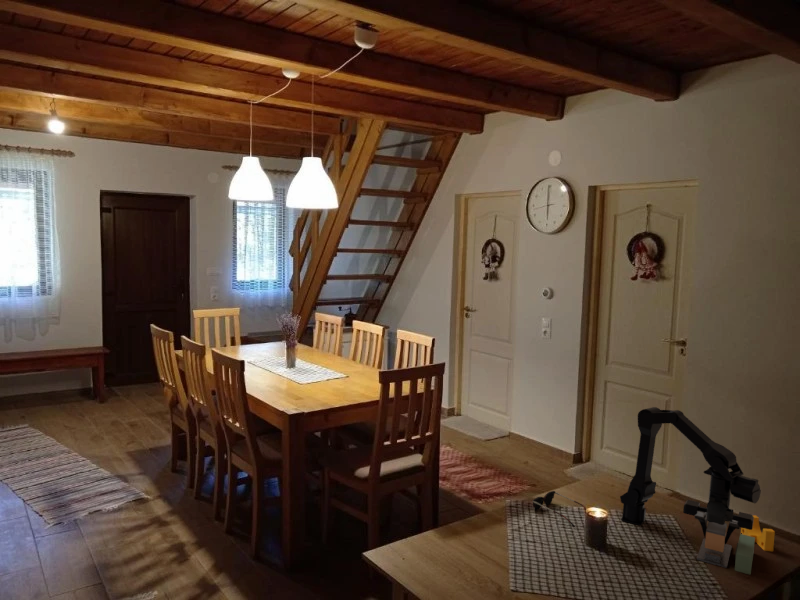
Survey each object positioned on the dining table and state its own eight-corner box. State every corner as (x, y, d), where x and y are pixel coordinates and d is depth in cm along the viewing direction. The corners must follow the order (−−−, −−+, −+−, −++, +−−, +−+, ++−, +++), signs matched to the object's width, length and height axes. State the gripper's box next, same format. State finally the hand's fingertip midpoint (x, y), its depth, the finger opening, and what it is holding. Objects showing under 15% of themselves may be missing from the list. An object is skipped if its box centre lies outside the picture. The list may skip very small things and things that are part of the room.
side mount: (696, 559, 184) (697, 551, 184) (703, 540, 197) (704, 532, 197) (726, 568, 180) (727, 559, 179) (731, 547, 193) (732, 539, 193)
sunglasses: (552, 502, 223) (554, 489, 222) (592, 520, 211) (594, 507, 211) (530, 512, 213) (532, 499, 212) (572, 532, 202) (574, 517, 201)
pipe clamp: (740, 533, 204) (742, 514, 203) (754, 534, 204) (756, 515, 203) (758, 550, 192) (760, 530, 192) (773, 551, 192) (774, 531, 191)
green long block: (733, 569, 179) (734, 553, 178) (737, 548, 192) (738, 533, 192) (750, 574, 176) (751, 558, 176) (753, 553, 190) (755, 537, 189)
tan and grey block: (704, 547, 186) (706, 529, 185) (707, 536, 193) (709, 519, 193) (723, 552, 183) (725, 534, 183) (725, 541, 191) (727, 523, 190)
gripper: (682, 492, 185) (678, 541, 186) (753, 508, 175) (748, 561, 176) (688, 481, 194) (683, 528, 196) (755, 496, 184) (751, 546, 186)
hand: (715, 541), depth 188 cm, fingers closed on tan and grey block, 5 cm apart
